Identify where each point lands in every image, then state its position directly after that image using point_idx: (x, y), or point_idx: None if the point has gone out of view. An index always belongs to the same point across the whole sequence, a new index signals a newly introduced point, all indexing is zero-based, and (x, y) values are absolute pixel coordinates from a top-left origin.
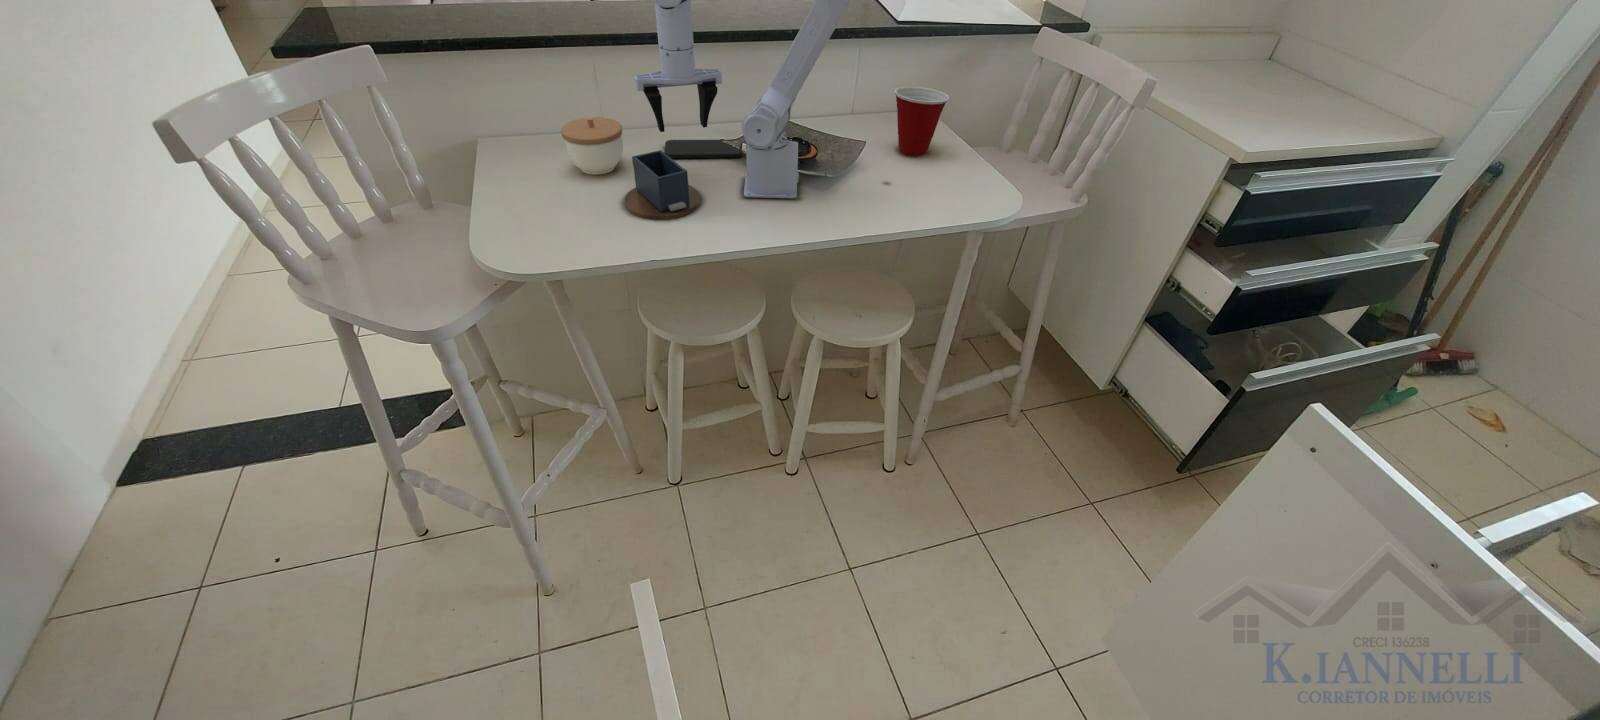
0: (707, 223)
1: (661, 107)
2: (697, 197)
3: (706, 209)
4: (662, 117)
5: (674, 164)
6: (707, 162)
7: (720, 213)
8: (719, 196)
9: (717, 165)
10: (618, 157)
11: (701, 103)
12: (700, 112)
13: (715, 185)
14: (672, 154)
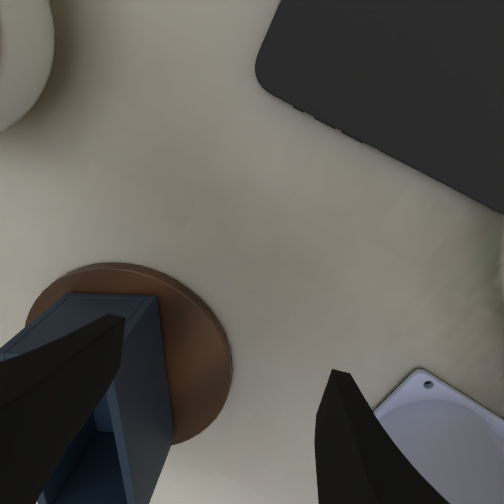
0: (189, 488)
1: (36, 497)
2: (211, 411)
3: (217, 441)
4: (74, 435)
5: (121, 467)
6: (384, 189)
7: (238, 471)
8: (282, 407)
9: (401, 232)
10: (23, 116)
11: (339, 492)
12: (338, 414)
13: (308, 351)
14: (276, 96)
